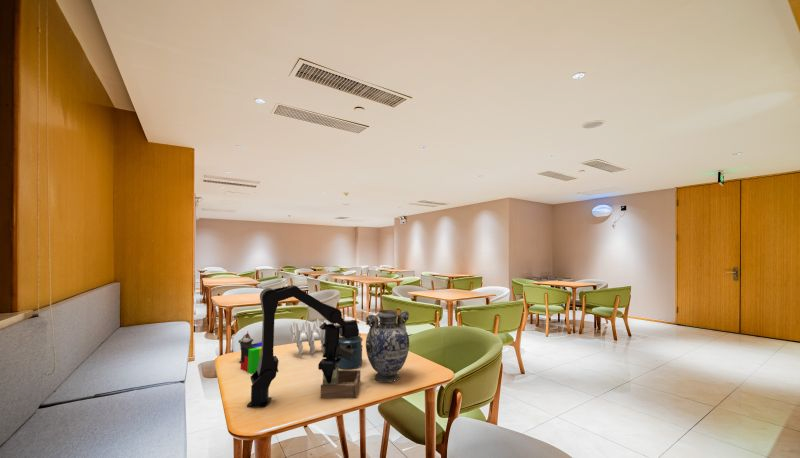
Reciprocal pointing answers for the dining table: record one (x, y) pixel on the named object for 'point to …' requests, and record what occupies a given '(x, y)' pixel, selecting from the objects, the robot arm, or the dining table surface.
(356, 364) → the canister
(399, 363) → the decorative vase
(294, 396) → the dining table surface
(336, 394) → the open wooden frame
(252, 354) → the puzzle toy
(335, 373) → the block
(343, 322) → the robot arm
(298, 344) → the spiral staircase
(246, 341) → the dark lantern
